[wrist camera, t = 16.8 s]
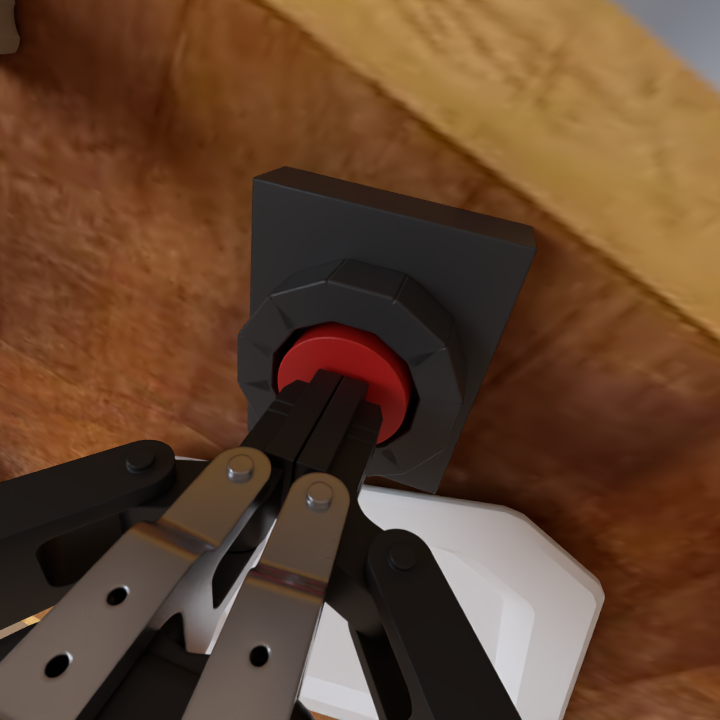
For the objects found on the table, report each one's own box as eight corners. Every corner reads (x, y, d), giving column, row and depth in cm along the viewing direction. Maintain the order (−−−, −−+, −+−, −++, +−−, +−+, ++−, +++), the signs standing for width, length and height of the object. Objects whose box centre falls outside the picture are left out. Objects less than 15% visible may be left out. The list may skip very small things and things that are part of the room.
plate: (225, 650, 36) (210, 680, 35) (112, 422, 24) (80, 450, 22) (539, 743, 29) (542, 785, 28) (617, 489, 17) (631, 538, 15)
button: (304, 295, 13) (280, 319, 12) (430, 330, 13) (421, 361, 11) (294, 394, 16) (273, 424, 14) (401, 428, 15) (390, 463, 14)
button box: (284, 165, 14) (217, 188, 11) (533, 226, 13) (543, 273, 9) (270, 399, 19) (223, 462, 16) (441, 455, 18) (428, 534, 15)
